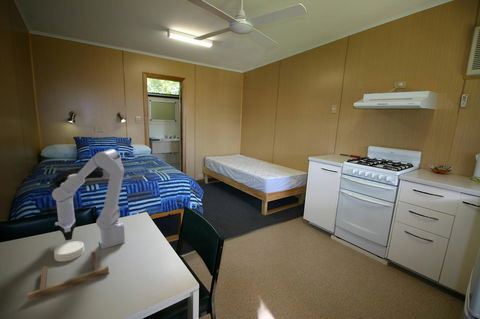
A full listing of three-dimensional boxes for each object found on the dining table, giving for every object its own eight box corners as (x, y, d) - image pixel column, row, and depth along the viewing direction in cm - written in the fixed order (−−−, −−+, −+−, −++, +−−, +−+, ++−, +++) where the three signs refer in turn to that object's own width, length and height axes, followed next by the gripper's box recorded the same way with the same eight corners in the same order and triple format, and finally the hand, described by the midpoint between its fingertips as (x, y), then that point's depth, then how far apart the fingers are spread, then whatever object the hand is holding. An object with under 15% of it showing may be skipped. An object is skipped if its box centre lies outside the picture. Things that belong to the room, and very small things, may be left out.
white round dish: (82, 244, 98) (81, 238, 97) (86, 255, 91) (85, 248, 90) (53, 253, 91) (52, 246, 90) (55, 265, 84) (54, 257, 84)
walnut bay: (103, 254, 92) (102, 249, 92) (108, 273, 81) (108, 267, 81) (32, 276, 78) (31, 270, 78) (28, 302, 67) (27, 295, 67)
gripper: (54, 208, 99) (57, 234, 101) (53, 220, 88) (57, 250, 90) (73, 205, 103) (76, 230, 106) (75, 216, 92) (78, 244, 95)
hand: (68, 239), depth 98 cm, fingers closed
